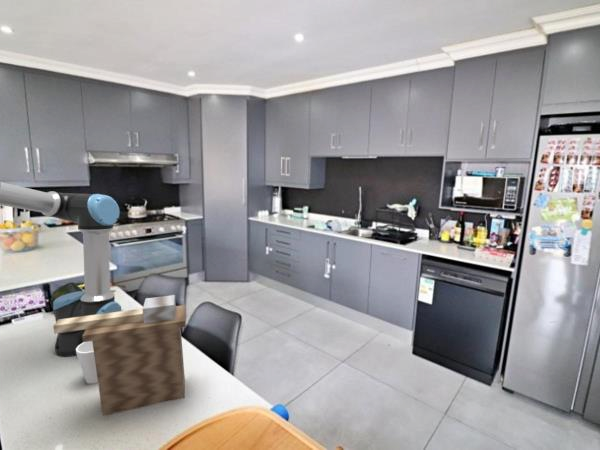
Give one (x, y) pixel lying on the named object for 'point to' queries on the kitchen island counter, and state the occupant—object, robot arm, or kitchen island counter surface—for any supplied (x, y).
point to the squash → (64, 291)
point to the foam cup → (87, 361)
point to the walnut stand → (139, 363)
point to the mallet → (123, 316)
